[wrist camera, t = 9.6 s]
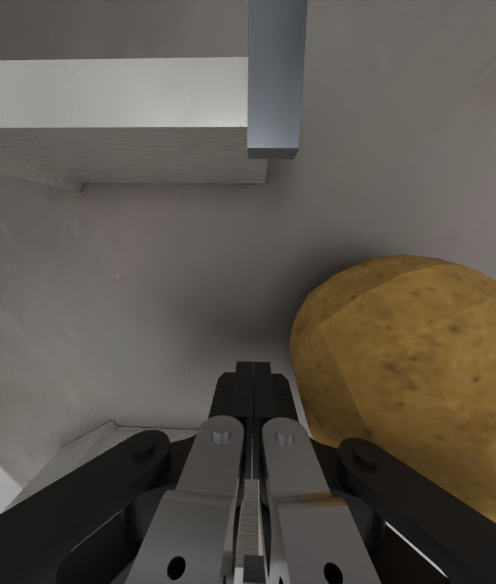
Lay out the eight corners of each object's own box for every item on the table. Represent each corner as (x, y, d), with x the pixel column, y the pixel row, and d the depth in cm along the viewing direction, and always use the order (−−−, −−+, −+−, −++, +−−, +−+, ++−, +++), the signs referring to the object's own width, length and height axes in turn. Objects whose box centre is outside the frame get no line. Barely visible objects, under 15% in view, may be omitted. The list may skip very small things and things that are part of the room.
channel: (-3, 122, 13) (-382, -44, 5) (277, 120, 12) (311, -67, 5) (64, 458, 18) (-79, 623, 10) (265, 467, 17) (271, 649, 10)
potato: (465, 741, 7) (867, 667, 6) (220, 393, 6) (678, 146, 4) (355, 462, 16) (493, 403, 15) (251, 300, 15) (393, 215, 13)
